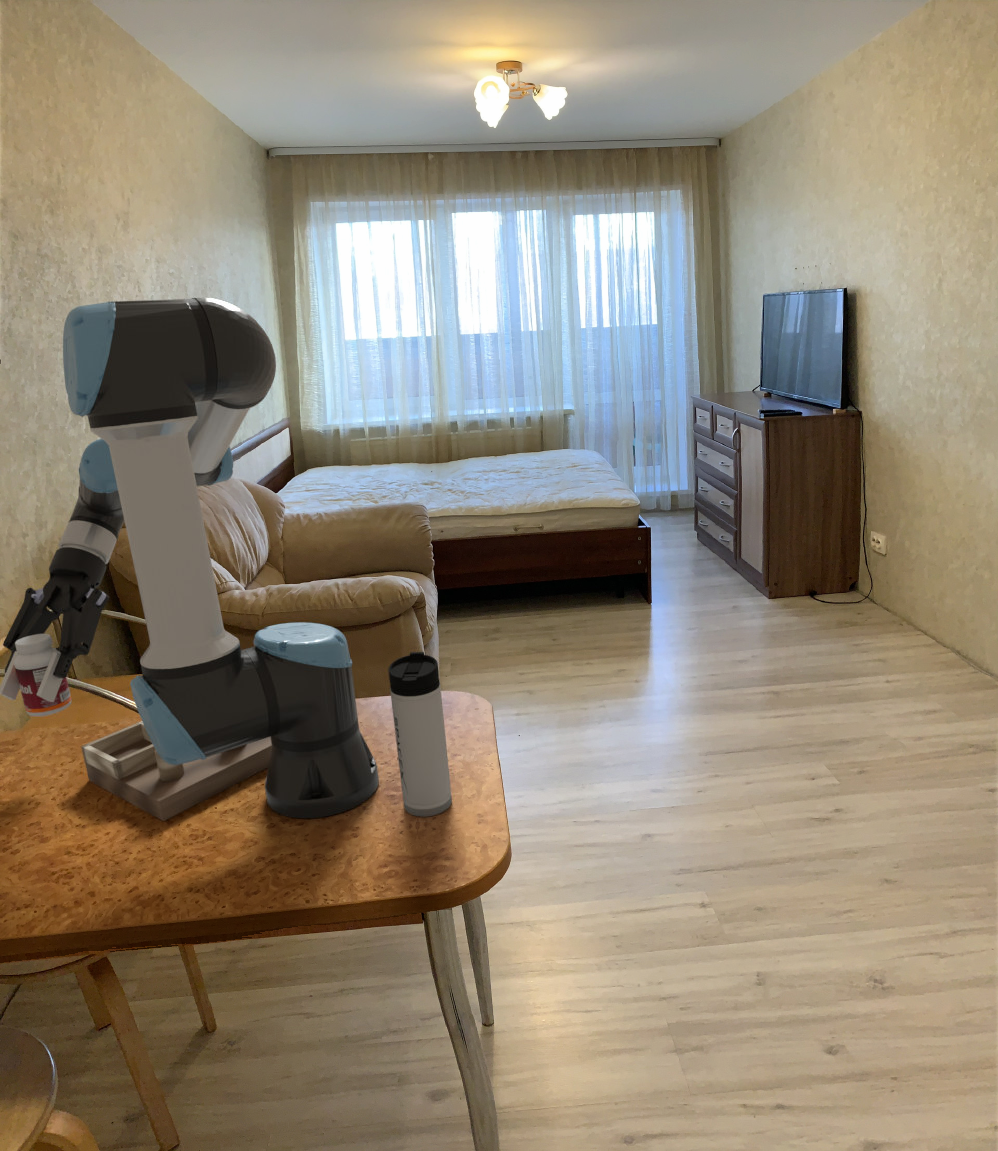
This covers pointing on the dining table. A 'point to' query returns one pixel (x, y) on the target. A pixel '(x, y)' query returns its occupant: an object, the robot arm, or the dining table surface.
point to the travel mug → (420, 734)
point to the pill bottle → (38, 675)
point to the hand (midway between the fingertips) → (25, 697)
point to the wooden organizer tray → (166, 771)
